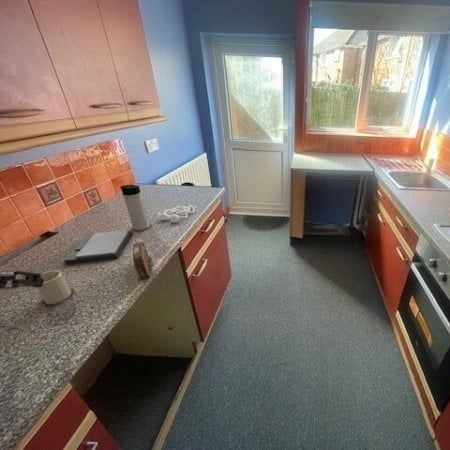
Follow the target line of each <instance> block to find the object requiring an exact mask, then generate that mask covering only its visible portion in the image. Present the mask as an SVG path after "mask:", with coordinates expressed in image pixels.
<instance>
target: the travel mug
mask: <svg viewBox="0 0 450 450" xmlns="http://www.w3.org/2000/svg"><path fill="white" fill-rule="evenodd" d="M120 190H121V194H122V196H123V197H122V198H123V199H124V203H125V206H126V209H127V213H128V217H129V219H130V223H131V225H132V228H133V231H136V232H141V231H146V230H148V229H150V227H151V225H150V220H149V216H148V213H147V210H146V207H145V203H144V202H145V201H144V199H143V196H142V191H141V189H140V185H135V184H124V185H121V186H120Z"/></svg>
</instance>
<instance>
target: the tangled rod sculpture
mask: <svg viewBox="0 0 450 450" xmlns="http://www.w3.org/2000/svg"><path fill="white" fill-rule="evenodd" d="M197 208H198V207H197V205H196V204H188V205H177V206H176V207H172V208H168V209H165V210H162V211H160V212H158V214H157V216H156V218H157V219H159V220H161V221H163V222H164V221H169V220H170V222H171V223H177V222H179V221H180V219H186V218H188V215H189V214H194V213H195V212H196V209H197ZM178 214H180V215H178Z"/></svg>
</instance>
